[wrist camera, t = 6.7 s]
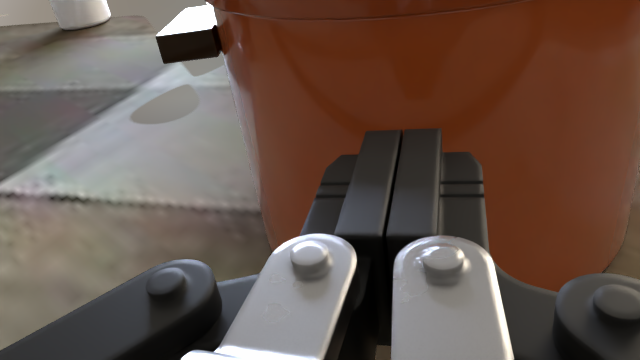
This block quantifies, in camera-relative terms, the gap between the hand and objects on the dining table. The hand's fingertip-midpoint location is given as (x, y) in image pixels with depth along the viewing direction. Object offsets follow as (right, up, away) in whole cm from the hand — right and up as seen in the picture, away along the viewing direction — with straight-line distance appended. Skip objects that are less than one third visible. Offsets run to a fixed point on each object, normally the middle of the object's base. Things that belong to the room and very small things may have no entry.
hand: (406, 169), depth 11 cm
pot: (+3, -1, +12) cm, 13 cm away
